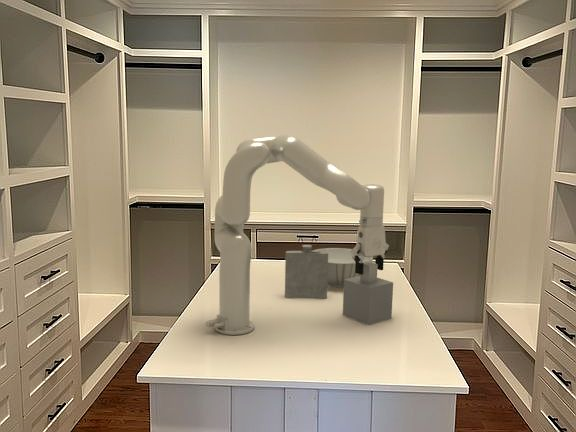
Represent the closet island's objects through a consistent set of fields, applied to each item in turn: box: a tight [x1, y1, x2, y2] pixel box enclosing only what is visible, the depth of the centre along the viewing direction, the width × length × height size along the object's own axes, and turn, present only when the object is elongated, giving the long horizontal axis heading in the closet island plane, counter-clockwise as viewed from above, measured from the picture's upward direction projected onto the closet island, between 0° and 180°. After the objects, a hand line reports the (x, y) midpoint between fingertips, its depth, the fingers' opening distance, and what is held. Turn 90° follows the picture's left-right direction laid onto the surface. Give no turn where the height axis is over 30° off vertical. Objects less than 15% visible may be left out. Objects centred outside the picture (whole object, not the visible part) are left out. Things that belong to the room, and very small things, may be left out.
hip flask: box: [284, 244, 328, 300], centre depth 212 cm, size 16×4×20 cm, turn 89°
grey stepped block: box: [342, 261, 394, 326], centre depth 192 cm, size 11×12×19 cm
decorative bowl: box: [314, 247, 374, 289], centre depth 232 cm, size 27×27×12 cm
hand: (369, 271), depth 191 cm, fingers open, 9 cm apart
